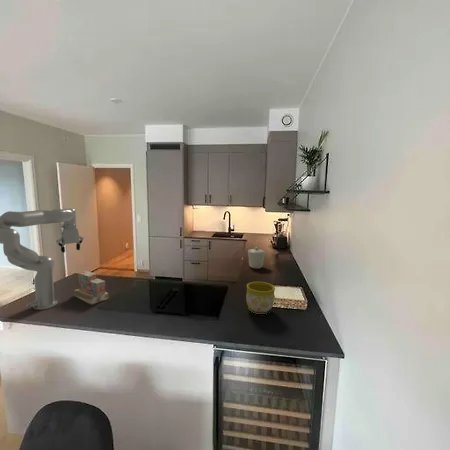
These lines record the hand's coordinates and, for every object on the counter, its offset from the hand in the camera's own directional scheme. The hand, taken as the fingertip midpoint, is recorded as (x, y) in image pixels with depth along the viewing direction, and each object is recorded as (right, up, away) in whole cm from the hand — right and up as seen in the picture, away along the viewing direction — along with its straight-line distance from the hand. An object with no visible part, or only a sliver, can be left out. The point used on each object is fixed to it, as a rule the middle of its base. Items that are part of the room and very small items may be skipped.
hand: (70, 251), depth 179 cm
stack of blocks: (+16, -28, -4) cm, 33 cm away
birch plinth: (+16, -32, -3) cm, 35 cm away
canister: (+139, -25, +83) cm, 163 cm away
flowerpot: (+129, -37, -13) cm, 135 cm away
